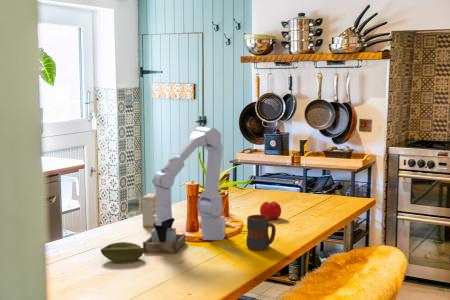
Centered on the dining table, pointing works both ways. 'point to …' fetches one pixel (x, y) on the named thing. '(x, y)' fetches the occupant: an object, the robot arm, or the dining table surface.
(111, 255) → the fruit
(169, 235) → the grey crate
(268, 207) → the tomato
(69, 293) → the dining table surface
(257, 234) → the mug
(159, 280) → the dining table surface
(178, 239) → the walnut crate
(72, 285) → the dining table surface
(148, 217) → the supplement box
